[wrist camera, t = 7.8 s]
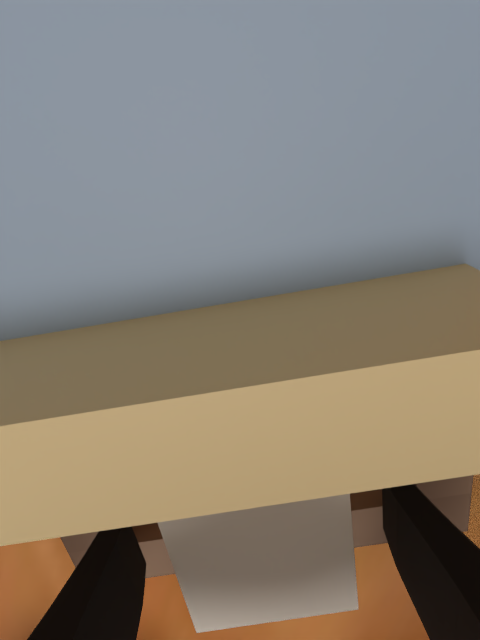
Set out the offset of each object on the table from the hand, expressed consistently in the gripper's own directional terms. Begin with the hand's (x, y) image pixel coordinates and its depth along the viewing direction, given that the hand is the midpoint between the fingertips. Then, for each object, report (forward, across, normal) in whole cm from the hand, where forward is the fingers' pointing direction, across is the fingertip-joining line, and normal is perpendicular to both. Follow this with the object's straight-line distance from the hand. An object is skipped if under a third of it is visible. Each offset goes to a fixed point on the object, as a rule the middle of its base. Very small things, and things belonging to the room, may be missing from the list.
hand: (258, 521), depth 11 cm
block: (+4, 0, 0) cm, 4 cm away
